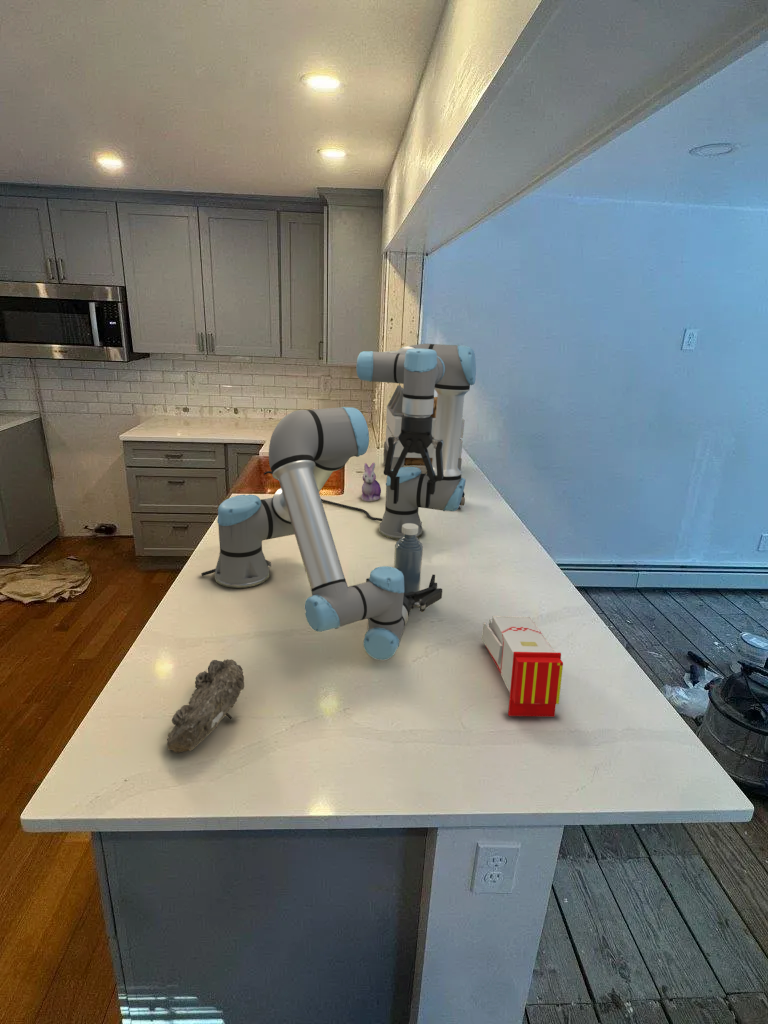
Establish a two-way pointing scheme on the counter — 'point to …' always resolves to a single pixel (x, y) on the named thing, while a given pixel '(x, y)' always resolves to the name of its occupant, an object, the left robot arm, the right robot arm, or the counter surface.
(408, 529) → the cap
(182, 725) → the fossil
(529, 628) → the toy
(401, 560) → the bottle
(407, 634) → the counter surface
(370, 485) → the figurine
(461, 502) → the figurine character
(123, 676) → the counter surface
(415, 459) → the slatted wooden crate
